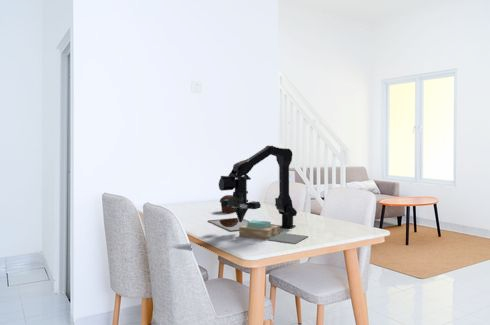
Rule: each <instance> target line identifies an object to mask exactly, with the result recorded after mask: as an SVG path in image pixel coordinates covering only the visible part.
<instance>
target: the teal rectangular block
mask: <svg viewBox="0 0 490 325" xmlns="http://www.w3.org/2000/svg"><path fill="white" fill-rule="evenodd" d="M248 221H249V222H247V226H248V227H257V228H267V227H270V226H271V221H268V220H267V221H266V220H265V221H264V220H257V219H253V220H248Z"/></svg>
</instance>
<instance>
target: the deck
mask: <svg viewBox="0 0 490 325" xmlns="http://www.w3.org/2000/svg"><path fill="white" fill-rule="evenodd" d="M280 226H281V224H271V226H270V227H267V228H257V227H248V226H247V225H245V226H242V227H239V231H238V233H239V234H238V236H239V237H242V238H249V239H251V238H252V239H256V240H257V239H259V240H266V241H268V240H267V239H269V238H271V237H273V236H276V235H278V234H280V233H281V227H280Z"/></svg>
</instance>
